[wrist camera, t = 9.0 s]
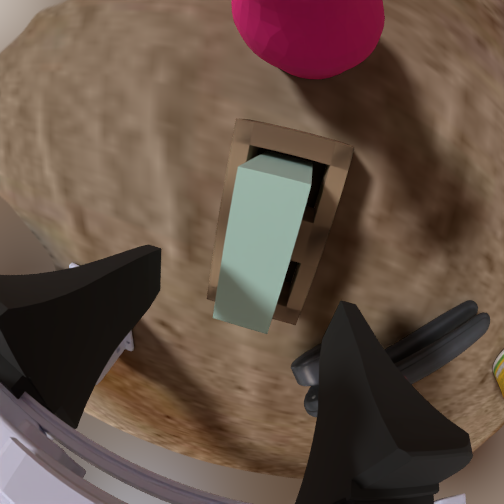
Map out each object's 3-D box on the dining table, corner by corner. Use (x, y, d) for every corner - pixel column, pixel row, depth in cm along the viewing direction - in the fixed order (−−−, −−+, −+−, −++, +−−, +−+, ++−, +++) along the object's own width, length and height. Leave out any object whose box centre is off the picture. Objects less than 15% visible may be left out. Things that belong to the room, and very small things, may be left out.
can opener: (317, 389, 26) (312, 435, 21) (286, 347, 24) (276, 397, 19) (478, 327, 19) (500, 368, 14) (473, 269, 17) (504, 310, 12)
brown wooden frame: (299, 300, 21) (295, 325, 19) (219, 277, 22) (206, 298, 19) (347, 144, 16) (354, 147, 13) (248, 119, 16) (236, 118, 14)
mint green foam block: (283, 270, 20) (267, 334, 14) (243, 258, 21) (212, 317, 15) (312, 162, 17) (311, 184, 11) (266, 151, 17) (238, 166, 11)
